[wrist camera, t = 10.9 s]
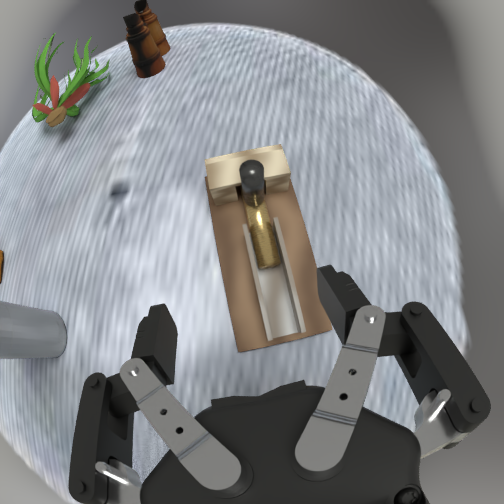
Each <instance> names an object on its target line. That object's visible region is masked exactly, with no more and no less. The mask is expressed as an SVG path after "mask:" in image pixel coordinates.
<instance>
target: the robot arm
mask: <svg viewBox="0 0 504 504" xmlns="http://www.w3.org/2000/svg"><path fill="white" fill-rule="evenodd" d="M316 272H317V288H318V296H319V300H320V302H321V304H322V306H323V308H324V310H325V312H326V314H327V316H328V317H329V319H330V321H331V323H332V325H333V327H334V329H335V331H336V333H337V335H338V337H339V339H340V341H341V343H342V345H343V346H342V348H341V351H340V354H339V356H338V359H337V361H336V364H335V367H334V369H333V372H332V374H331V376H330V379H329V381H328V384H327V386H326V388H324V387H319V386H306V384H305V381H304V380H302V381H298V382H294V383H290V384H287V385H283V386H280V387H278V388H276V389H274V390H272V391H269V392H267V393H265V394H263V395H261V396H231V397H225V398H219V399H212V400H211V403H212V406H211V407H208V408H207V409H205V410H203V411H201V412H200V413H199V414H197V415H196V416H195V417H194V418H193V417H192V416H191V415H190V413H189V412H188V411H187V410H186V409H185V408H184V407H183V406H182V405H181V404H180V403H179V402H178V401H177V400H176V398H175V397H174V396H173V395H172V394H171V393H170V392H169V391H168V389H167V388H166V385H171V384H174V375H175V360H176V348H177V336H178V333H177V328H176V325H175V323H174V321H173V319H172V317H171V315H170V313H169V311H168V308H167V306H166V305H165V304H159V305H154V306H151V307H150V310H149V314H148V316H147V317H144V318H143V319H142V321H141V322H140V324H139V326H138V330H137V334H136V339H135V343H134V347H133V351H132V356H131V359H130V360H128V361H126V362H125V363H124V364H123V365H122V367H121V369H120V373H118V374H115V375H113V376H110V377H108V378H106V376H105V375H104V374H102V373H94V374H92V375H90V376H89V377H88V378H87V379H86V381H85V383H84V386H83V391H82V395H81V400H80V405H79V410H78V415H77V420H76V426H75V432H74V439H73V446H72V453H71V462H70V473H69V492H70V494H71V496H72V497H73V498H74V499H75V500H76V501H78V502H80V503H83V504H430V503H429V501H428V500H427V498H426V496H425V494H424V492H423V491H422V488H421V485H420V481H419V465H420V459H422V458H424V457H426V456H428V455H430V454H432V453H434V452H436V451H438V450H439V449H441V448H443V449H450V448H452V447H454V446H456V445H457V444H458V443H459V442H461V441H462V440H463V439H464V438H465V437H466V436H468V435H469V434H470V433H471V432H472V431H473V430H474V429H475V428H476V427H477V426H479V425H480V424H481V423H482V422H483V421H484V420H485V419H486V418H487V417H488V415H489V413H490V409H491V404H490V400H489V398H488V397H487V395H486V393H485V391H484V389H483V388H482V386H481V384H480V383H479V381H478V380H477V378H476V376H475V375H474V373H473V371H472V370H471V369H470V367H469V365H468V364H467V362H466V361H465V359H464V358H463V356H462V355H461V353H460V352H459V350H458V349H457V347H456V346H455V344H454V343H453V341H452V340H451V339H450V337H449V336H448V334H447V333H446V332H445V330H444V329H443V328H442V326H441V325H440V323H439V322H438V321H437V319H436V318H435V317H434V316H433V314H432V313H431V312H430V310H429V309H428V308H427V307H426V306H425V305H424V304H422V303H420V302H409V303H407V304H405V305H404V306H403V308H402V312H390V313H387V312H384V311H383V310H382V309H381V308H380V307H377V306H374V305H371V304H370V302H369V301H368V299H367V298H366V297H365V295H364V294H363V293H362V291H361V290H360V288H358V286H357V284H356V283H355V282H354V280H353V279H352V278H351V276H350V275H348V274H346V273H344V272H343V271H342V272H338V273H337V272H336V271H335V269H334V268H333V267H332V265H327V266H323V267H319V268H317V270H316ZM66 340H67V335H66V328H65V325H64V322H63V320H62V318H61V317H60V316H59V315H58V314H57V313H56V312H54V311H49V310H43V309H38V308H33V307H27V306H22V305H17V304H13V303H8V302H3V301H0V359H32V358H56V357H59V356H60V355H61V354H62V353H63V351H64V349H65V346H66ZM392 355H394V356H395V358H396V360H397V362H398V364H399V366H400V367H401V369H402V371H403V373H404V375H405V377H406V379H407V381H408V383H409V385H410V387H411V389H412V391H413V393H414V395H415V397H416V399H417V401H418V403H419V407H418V409H417V410H416V412H415V416H414V420H415V424H416V430H415V432H414V433H413V432H412V431H411V430H409V429H408V428H406V427H404V426H402V425H400V424H398V423H395V422H393V421H391V420H389V419H387V418H385V417H383V416H381V415H379V414H377V413H375V412H373V411H371V410H369V409H367V408H365V407H363V404H364V401H365V398H366V395H367V392H368V388H369V385H370V382H371V378H372V375H373V371H374V367H375V364H376V360H377V357H381V356H392ZM139 410H141V411H142V413H143V414H144V416H145V417H146V418H147V420H148V421H149V422H150V424H151V425H152V426H153V428H154V429H155V430H156V432H157V433H158V434H159V435H160V437H161V438H162V439H163V441H164V442H165V443H166V444H167V445H168V447H169V448H170V449H169V451H168V452H167V453H166V454H165V456H164V457H163V458H162V459H161V461H160V462H159V463H158V464H157V466H156V467H155V468H154V469H153V471H152V472H151V473H150V474H149V476H148V477H147V478H146V479H145V481H144V482H143V484H141V482H140V477H139V475H138V473H137V472H136V471H135V470H134V469H132V447H133V422H134V412H136V411H139Z"/></svg>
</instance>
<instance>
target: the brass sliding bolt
mask: <svg viewBox="0 0 504 504" xmlns="http://www.w3.org/2000/svg"><path fill="white" fill-rule="evenodd" d="M239 173H240V179H241V185H240V190H241V194H242V198H243V203H244V207H245V211H246V216H247V220H248V224H249V229H250V233H251V237H252V242H253V246H254V251H255V255H256V259H257V264H258V268H259V269H268V268H272V267H275V266H278V265H280V264H281V261H280V257H279V253H278V249H277V245H276V241H275V237H274V233H273V229H272V226H271V222H270V218H269V214H268V210H267V206H266V203H265V199H264V167H263V165H262V163H261V162H259V161H257V160H247V161H245V162H243V163H242V164H241V165H240V168H239Z"/></svg>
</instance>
